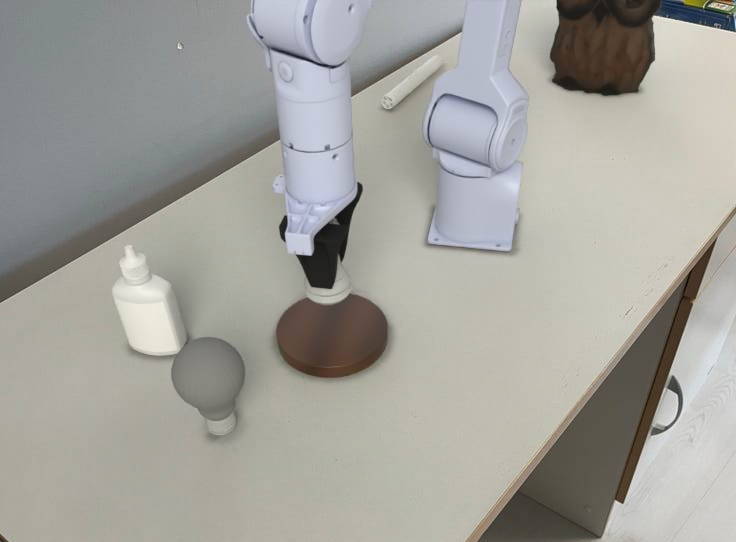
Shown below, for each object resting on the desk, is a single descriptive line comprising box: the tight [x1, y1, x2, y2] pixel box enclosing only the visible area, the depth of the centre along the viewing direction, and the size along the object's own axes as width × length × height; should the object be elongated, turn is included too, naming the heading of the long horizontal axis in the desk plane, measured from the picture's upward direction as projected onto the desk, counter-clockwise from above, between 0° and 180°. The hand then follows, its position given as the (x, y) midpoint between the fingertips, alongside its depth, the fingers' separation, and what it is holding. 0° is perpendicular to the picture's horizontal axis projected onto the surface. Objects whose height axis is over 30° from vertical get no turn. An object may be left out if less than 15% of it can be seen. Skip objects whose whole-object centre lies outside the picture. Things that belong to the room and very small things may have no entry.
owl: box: [549, 0, 663, 97], centre depth 103 cm, size 13×13×20 cm
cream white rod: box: [381, 54, 444, 110], centre depth 111 cm, size 18×2×2 cm, turn 149°
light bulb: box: [170, 336, 246, 436], centre depth 60 cm, size 6×6×10 cm
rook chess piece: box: [303, 217, 352, 305], centre depth 65 cm, size 4×4×8 cm
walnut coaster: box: [275, 292, 389, 379], centre depth 71 cm, size 11×11×2 cm
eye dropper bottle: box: [111, 244, 188, 357], centre depth 68 cm, size 4×6×12 cm
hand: (327, 271), depth 66 cm, fingers closed on rook chess piece, 3 cm apart
